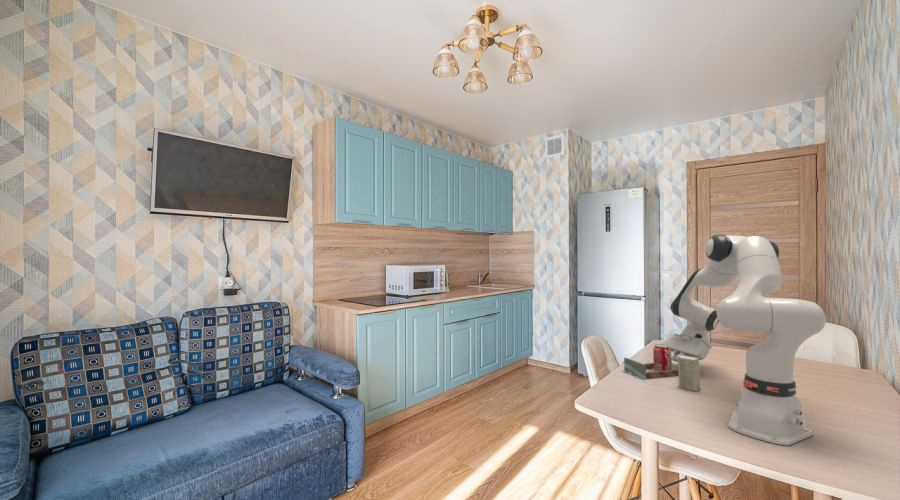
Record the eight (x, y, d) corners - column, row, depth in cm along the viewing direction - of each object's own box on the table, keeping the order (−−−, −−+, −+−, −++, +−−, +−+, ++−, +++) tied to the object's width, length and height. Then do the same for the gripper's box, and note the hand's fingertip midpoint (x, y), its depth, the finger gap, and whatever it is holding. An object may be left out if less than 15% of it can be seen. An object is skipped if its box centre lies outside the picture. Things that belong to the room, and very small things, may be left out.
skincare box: (700, 389, 143) (699, 358, 143) (695, 391, 140) (695, 360, 140) (682, 384, 148) (682, 354, 148) (677, 387, 145) (677, 356, 146)
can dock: (657, 367, 171) (657, 354, 171) (679, 375, 159) (679, 361, 159) (624, 370, 166) (624, 357, 167) (644, 379, 155) (643, 365, 155)
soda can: (672, 371, 165) (671, 344, 166) (671, 375, 159) (671, 348, 160) (654, 368, 169) (653, 342, 169) (653, 373, 163) (652, 346, 163)
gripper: (669, 328, 178) (652, 350, 175) (707, 337, 158) (690, 362, 155) (676, 337, 179) (660, 359, 176) (716, 347, 159) (698, 371, 156)
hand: (674, 360), depth 166 cm, fingers closed
